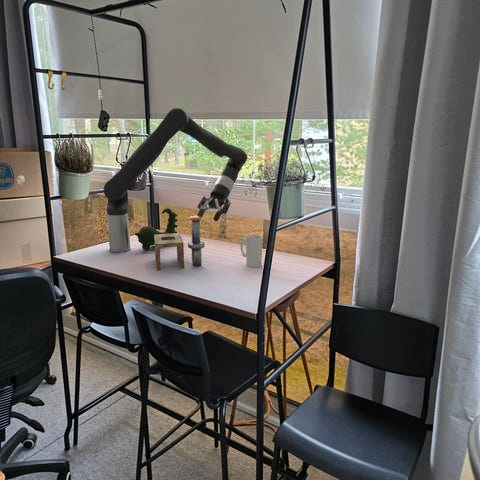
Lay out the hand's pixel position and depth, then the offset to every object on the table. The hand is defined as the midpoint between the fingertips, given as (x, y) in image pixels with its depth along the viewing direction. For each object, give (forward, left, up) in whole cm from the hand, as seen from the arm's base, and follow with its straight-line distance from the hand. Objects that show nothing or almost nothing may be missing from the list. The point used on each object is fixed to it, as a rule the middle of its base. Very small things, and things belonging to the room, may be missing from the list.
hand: (206, 219), depth 179 cm
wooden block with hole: (-16, 0, -18) cm, 24 cm away
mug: (+17, -9, -18) cm, 26 cm away
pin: (-5, -5, -18) cm, 20 cm away
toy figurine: (-20, +28, -18) cm, 39 cm away
